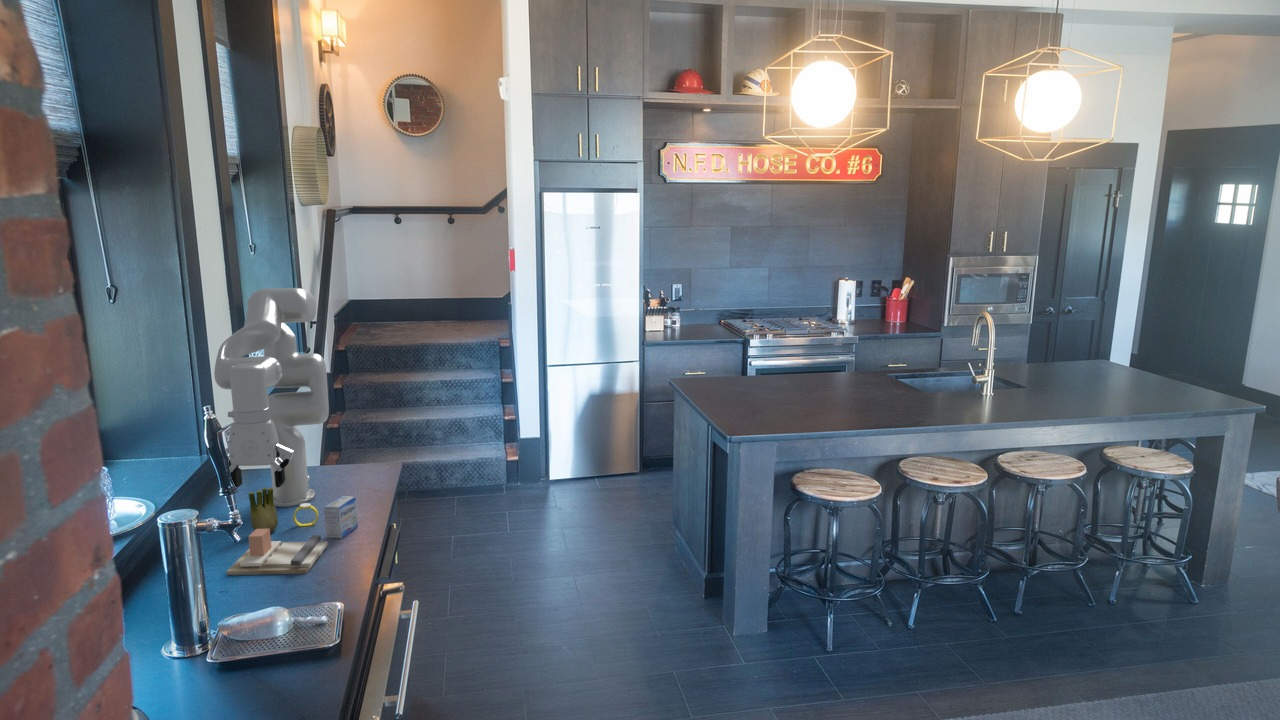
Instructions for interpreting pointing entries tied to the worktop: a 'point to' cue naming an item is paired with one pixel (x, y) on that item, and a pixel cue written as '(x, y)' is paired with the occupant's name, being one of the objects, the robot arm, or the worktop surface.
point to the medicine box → (340, 517)
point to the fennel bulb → (263, 510)
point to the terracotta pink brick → (260, 548)
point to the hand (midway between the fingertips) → (259, 485)
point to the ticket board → (284, 559)
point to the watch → (305, 506)
